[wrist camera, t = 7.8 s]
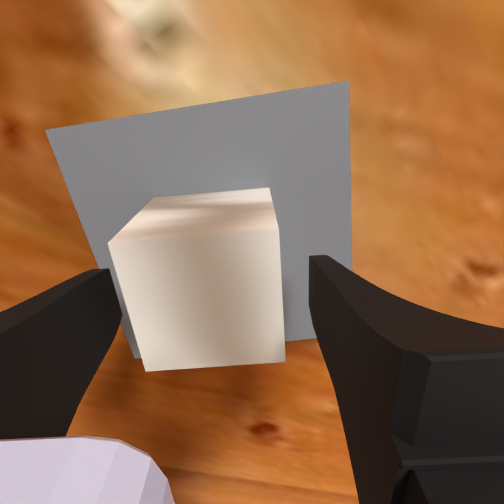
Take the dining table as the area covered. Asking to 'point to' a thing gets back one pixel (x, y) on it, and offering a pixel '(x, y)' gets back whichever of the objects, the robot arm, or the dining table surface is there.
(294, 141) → the gray panel
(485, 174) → the dining table surface
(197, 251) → the cream block
